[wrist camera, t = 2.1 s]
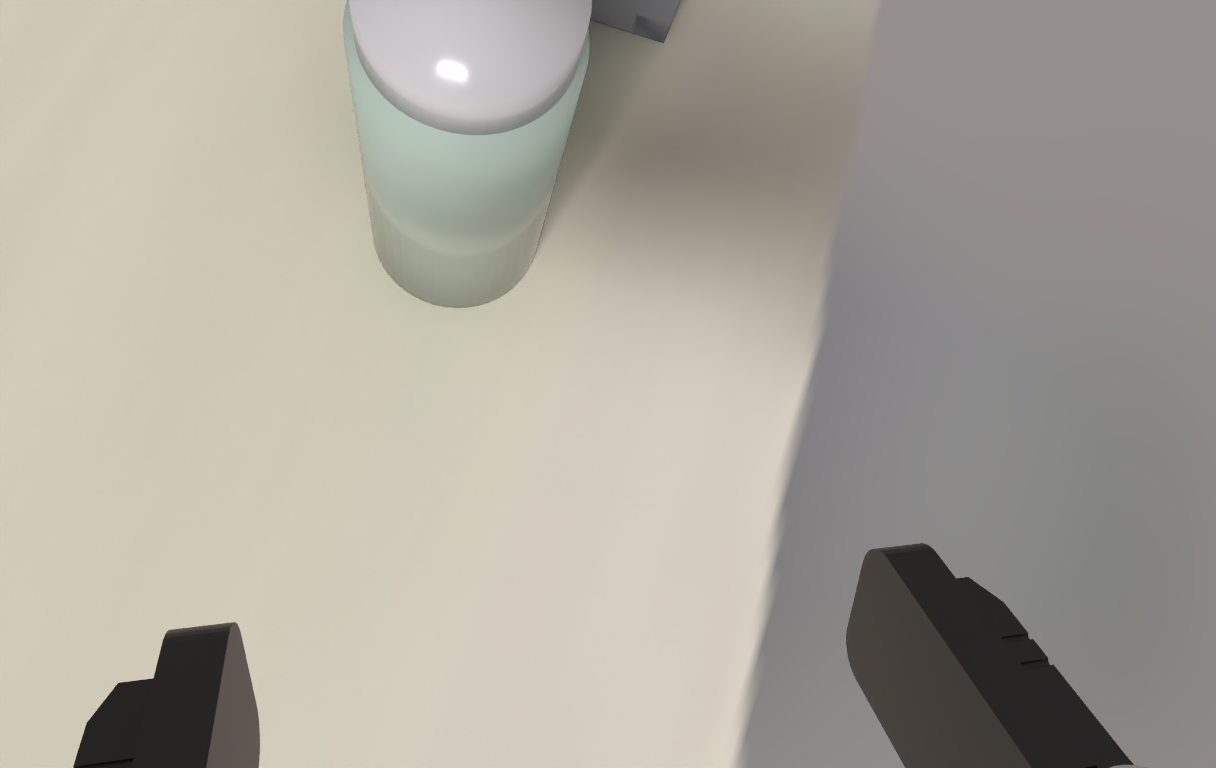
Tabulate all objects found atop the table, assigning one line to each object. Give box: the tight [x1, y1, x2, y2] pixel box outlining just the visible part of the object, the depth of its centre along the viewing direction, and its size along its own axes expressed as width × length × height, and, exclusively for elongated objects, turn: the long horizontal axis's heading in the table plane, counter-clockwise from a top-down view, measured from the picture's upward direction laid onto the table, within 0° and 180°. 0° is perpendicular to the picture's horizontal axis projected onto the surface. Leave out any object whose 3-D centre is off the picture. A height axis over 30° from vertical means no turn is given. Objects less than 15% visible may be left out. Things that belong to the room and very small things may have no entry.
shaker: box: [343, 0, 592, 308], centre depth 24 cm, size 5×5×12 cm
